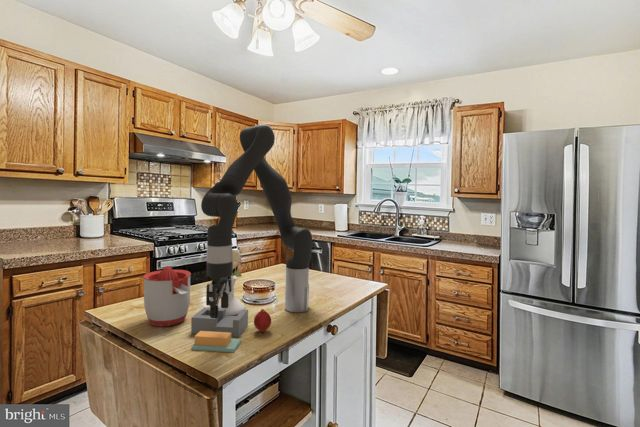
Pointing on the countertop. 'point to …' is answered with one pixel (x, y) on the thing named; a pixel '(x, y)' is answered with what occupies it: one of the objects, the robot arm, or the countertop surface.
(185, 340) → the countertop surface
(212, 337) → the plank
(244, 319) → the kitting block
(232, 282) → the flower in vase
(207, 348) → the mat
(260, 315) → the onion
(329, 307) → the countertop surface
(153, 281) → the citrus juicer
